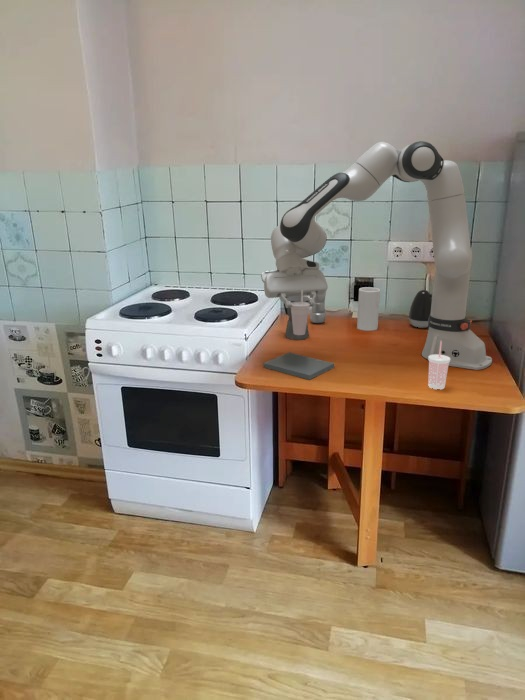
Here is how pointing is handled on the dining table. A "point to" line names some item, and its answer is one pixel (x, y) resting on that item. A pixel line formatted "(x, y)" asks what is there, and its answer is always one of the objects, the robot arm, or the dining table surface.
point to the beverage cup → (438, 370)
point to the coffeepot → (289, 328)
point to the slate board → (299, 365)
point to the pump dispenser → (421, 309)
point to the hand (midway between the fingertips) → (300, 306)
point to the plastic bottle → (318, 309)
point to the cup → (368, 308)
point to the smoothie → (299, 316)
